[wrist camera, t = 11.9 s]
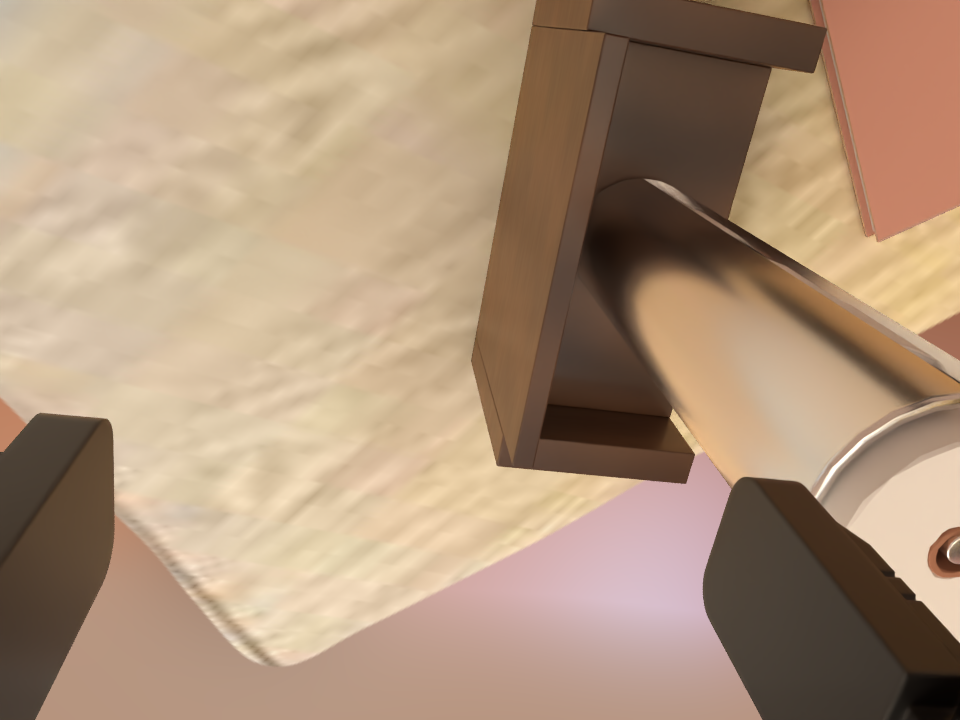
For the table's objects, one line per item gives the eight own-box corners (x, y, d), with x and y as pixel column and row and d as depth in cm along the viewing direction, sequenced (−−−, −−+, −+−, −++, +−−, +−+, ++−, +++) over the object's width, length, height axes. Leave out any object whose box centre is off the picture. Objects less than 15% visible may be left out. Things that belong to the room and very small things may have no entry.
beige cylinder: (723, 242, 40) (1158, 540, 18) (625, 329, 42) (913, 710, 19) (644, 148, 38) (1027, 351, 15) (543, 243, 39) (758, 560, 17)
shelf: (538, -11, 43) (616, -22, 29) (711, 23, 45) (868, 29, 30) (470, 362, 51) (504, 500, 37) (619, 379, 53) (707, 518, 38)
